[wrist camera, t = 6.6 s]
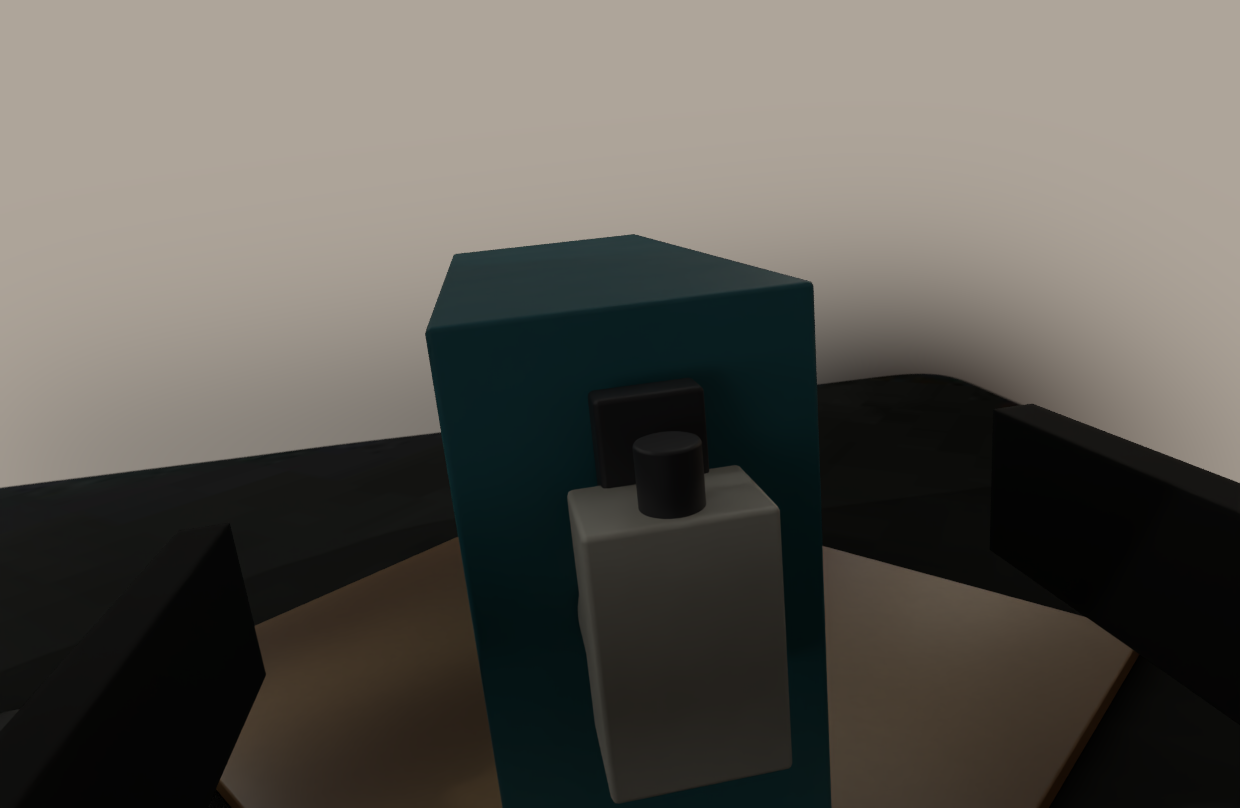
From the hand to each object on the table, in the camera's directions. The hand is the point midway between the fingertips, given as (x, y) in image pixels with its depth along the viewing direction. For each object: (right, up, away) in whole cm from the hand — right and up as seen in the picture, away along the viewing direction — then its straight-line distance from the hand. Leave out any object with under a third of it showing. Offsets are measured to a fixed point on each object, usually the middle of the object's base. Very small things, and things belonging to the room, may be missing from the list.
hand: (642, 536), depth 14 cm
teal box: (0, -4, +7) cm, 8 cm away
